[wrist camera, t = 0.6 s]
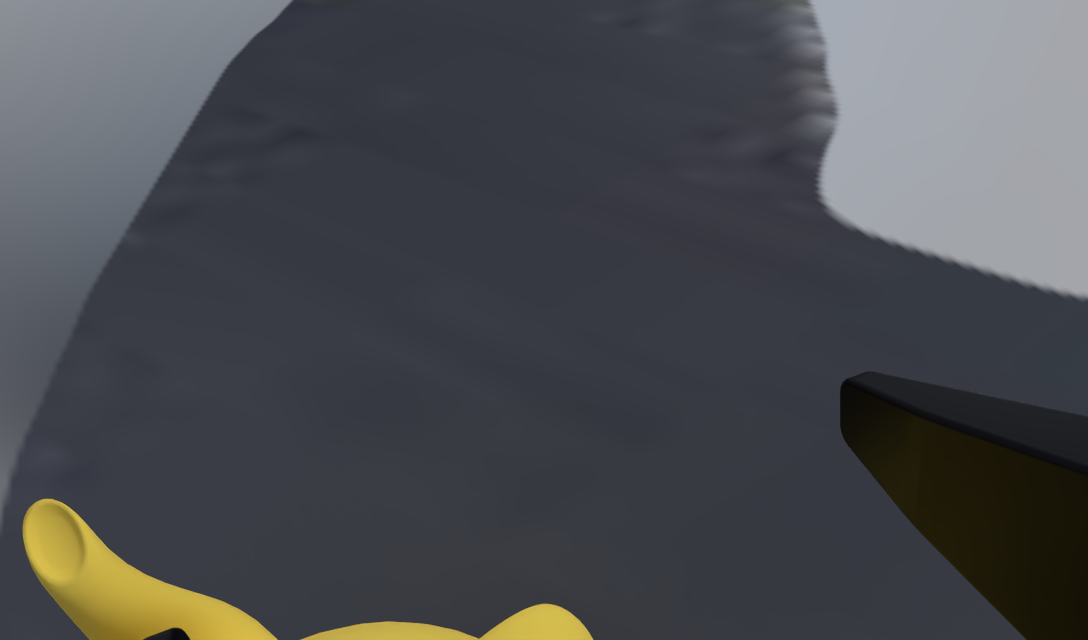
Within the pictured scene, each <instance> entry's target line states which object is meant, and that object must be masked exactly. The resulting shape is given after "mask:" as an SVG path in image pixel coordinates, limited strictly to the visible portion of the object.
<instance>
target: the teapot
mask: <svg viewBox="0 0 1088 640" xmlns="http://www.w3.org/2000/svg"><path fill="white" fill-rule="evenodd" d="M23 539H24V544H25V549H26V553H27V556H28V558H29V561H30V564H31V566H32V568H33V570H34V572H35V573H36V575H37V577H38V579H39V580H40V582H41V583H42V585H43V586H44V587H45V589H46V590H47V591H48V592H49V593H50V595H51V596H52V597H53V598H54V600H55V601H56V602H57V603H58V604H59V606H60V607H61V608H62V609H63V610H64V611H65V612H66V614H67V615H68V616H69V617H70V618H71V619H72V621H73V622H74V623H75V624H76V625H77V626H78V627H79V628H80V629H81V631H82V632H83V633H84V634H85V635H86V636H87V637H88V638H89V639H90V640H143V639H145V638H147V637H149V636H152V635H154V634H157V633H160V632H163V631H165V630H168V629H171V628H181V629H182V630H184V631H185V632H186V634H187V635H188V636H189V638H190V640H278V639H277V638H275V637H274V636H273V635H272V634H271V633H270V632H269V631H268V630H266V629H265V628H264V627H263V626H262V625H261V624H260V623H259V622H257V621H256V620H255V619H253V618H252V617H250V616H249V615H247V614H246V613H244V612H243V611H241V610H240V609H238V608H236V607H233V606H231V605H229V604H227V603H225V602H223V601H220V600H217V599H214V598H211V597H208V596H205V595H202V594H199V593H195V592H192V591H188V590H185V589H182V588H179V587H176V586H173V585H170V584H167V583H164V582H162V581H159V580H157V579H155V578H152V577H150V576H148V575H145V574H144V573H142V572H140V571H139V570H137V569H135V568H134V567H132V566H130V565H128V564H127V563H125V562H124V561H123V560H122V559H120V558H119V557H118V556H117V555H115V554H114V553H113V552H112V551H111V550H109V549H108V548H107V547H106V546H105V544H104V543H103V542H102V541H101V540H100V539H99V538H98V537H97V536H96V534H95V533H94V532H93V531H92V530H91V529H90V528H89V526H88V525H87V524H86V523H85V522H84V521H83V520H82V519H81V518H80V517H79V516H78V514H77V513H75V512H74V511H73V510H72V509H70V508H69V507H68V506H66V505H65V504H63V503H61V502H59V501H56V500H53V499H42V500H40V501H38V502H35V503H34V504H33V505H32V506H31V507H30V508H29V509H28V511H27V513H26V515H25V517H24V522H23ZM301 640H593V638H592V637H591V635H590V633H589V632H588V630H587V629H586V628H585V626H584V625H583V624H582V623H581V622H580V621H579V620H578V619H577V618H576V617H575V616H574V615H572V614H571V613H570V612H568V611H567V610H565V609H563V608H561V607H559V606H556V605H551V604H541V605H536V606H532V607H529V608H527V609H524V610H522V611H520V612H518V613H516V614H515V615H513V616H511V617H510V618H508V619H506V620H505V621H503V622H502V623H500V624H499V625H497V626H496V627H494V628H493V629H492V630H490V631H489V632H488V633H486V634H485V635H484V636H482V637H481V638H480V639H478V638H475V637H473V636H470V635H467V634H465V633H462V632H459V631H456V630H452V629H447V628H443V627H438V626H433V625H428V624H419V623H405V622H378V623H366V624H358V625H353V626H349V627H344V628H340V629H335V630H331V631H326V632H322V633H318V634H315V635H312V636H310V637H307V638H304V639H301Z"/></svg>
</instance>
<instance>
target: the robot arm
mask: <svg viewBox="0 0 1088 640" xmlns="http://www.w3.org/2000/svg"><path fill="white" fill-rule="evenodd" d="M840 427H841V432H842V435H843V438H844V440H845V441H846V443H847V445H848V446H849V447H850V448H851V450H852V451H853V452H854V453H855V455H856V456H857V457H858V458H859V459H860V461H861V462H862V463H863V464H864V466H865V467H866V468H867V469H868V470H869V472H870V473H871V474H872V475H873V477H874V478H875V479H876V480H877V482H878V483H879V484H880V485H881V486H882V488H883V489H884V490H885V491H886V493H887V494H888V495H889V496H890V497H891V499H892V500H893V501H894V502H895V504H896V505H897V506H898V507H899V508H900V510H901V511H902V512H903V513H904V515H905V516H906V517H907V518H908V519H909V520H910V521H911V523H912V524H913V525H914V526H915V527H916V528H917V529H918V530H919V531H920V532H921V534H922V535H923V536H924V537H925V538H926V539H927V540H928V541H929V542H930V543H931V544H932V545H933V546H934V547H935V548H936V549H937V550H938V551H939V552H940V553H941V554H942V555H943V556H944V557H945V558H946V559H947V560H948V561H949V562H950V563H951V564H952V565H953V566H954V567H955V568H956V569H957V570H958V571H959V572H960V573H961V574H962V575H963V576H964V577H965V578H966V579H967V580H968V581H969V582H970V583H971V584H972V585H973V586H974V587H975V588H976V589H977V590H978V591H979V592H980V593H981V594H982V595H983V596H984V597H985V598H986V599H987V600H988V601H989V602H990V603H991V604H992V605H993V606H994V607H995V608H996V609H997V610H998V611H999V612H1000V613H1001V614H1002V615H1003V616H1004V617H1005V618H1006V619H1007V620H1008V621H1009V622H1010V623H1011V624H1012V625H1013V626H1014V627H1015V628H1016V629H1017V630H1018V632H1019V633H1020V634H1021V635H1022V636H1023V637H1024V638H1025V639H1026V640H1088V416H1085V415H1080V414H1076V413H1071V412H1066V411H1061V410H1056V409H1051V408H1046V407H1042V406H1037V405H1032V404H1027V403H1022V402H1017V401H1013V400H1008V399H1003V398H998V397H993V396H989V395H984V394H979V393H974V392H969V391H964V390H960V389H955V388H950V387H945V386H940V385H935V384H931V383H926V382H921V381H916V380H911V379H907V378H902V377H897V376H892V375H887V374H882V373H878V372H872V371H870V372H864V373H862V374H859V375H856V376H853V377H851V378H848V379H846V380H845V381H844V382H843V383H842V385H841V389H840ZM143 640H190V638H189V636H188V635H187V634H186V632H185V631H184V630H182V629H181V628H171V629H168V630H165V631H163V632H160V633H157V634H154V635H152V636H149V637H147V638H145V639H143Z"/></svg>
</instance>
